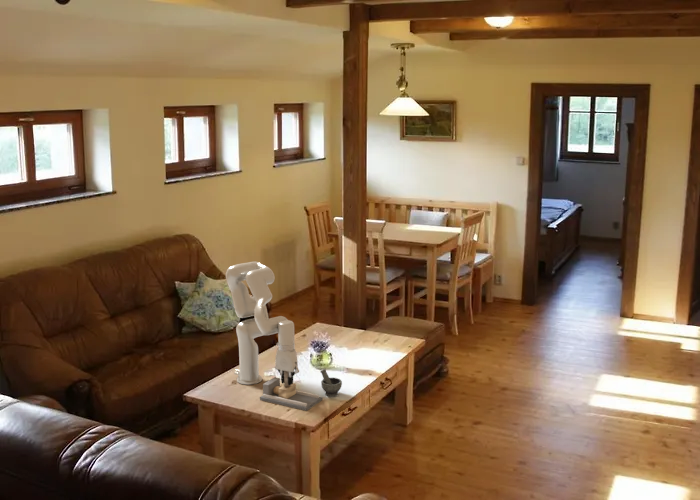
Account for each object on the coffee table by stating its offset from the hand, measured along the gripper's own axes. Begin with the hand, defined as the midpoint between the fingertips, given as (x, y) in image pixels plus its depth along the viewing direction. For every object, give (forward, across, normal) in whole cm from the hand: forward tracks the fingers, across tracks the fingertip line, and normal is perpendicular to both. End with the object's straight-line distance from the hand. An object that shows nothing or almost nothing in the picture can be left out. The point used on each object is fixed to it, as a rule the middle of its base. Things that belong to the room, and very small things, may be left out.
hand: (287, 383), depth 374 cm
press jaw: (+7, 0, 0) cm, 7 cm away
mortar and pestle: (+8, +15, +15) cm, 23 cm away
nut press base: (+8, +2, 0) cm, 8 cm away
